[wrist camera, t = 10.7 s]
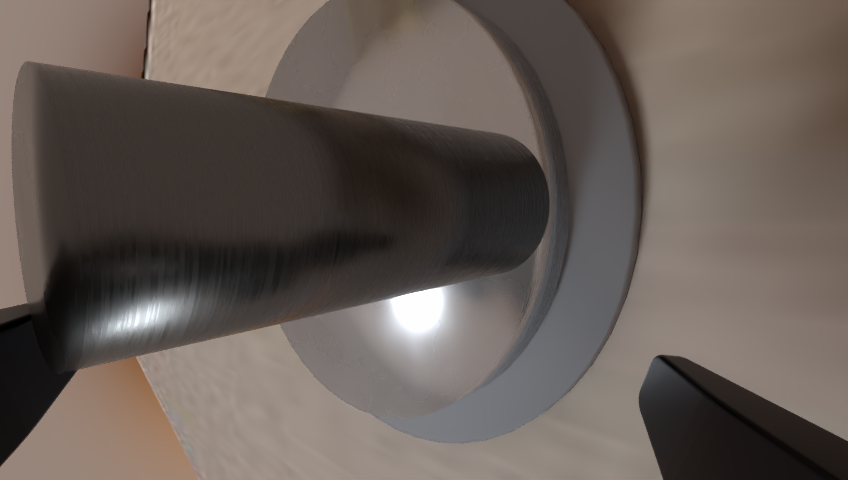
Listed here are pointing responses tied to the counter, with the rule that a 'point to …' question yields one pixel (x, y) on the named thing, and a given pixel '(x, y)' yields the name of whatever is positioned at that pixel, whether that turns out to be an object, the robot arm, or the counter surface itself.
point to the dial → (303, 206)
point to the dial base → (587, 227)
